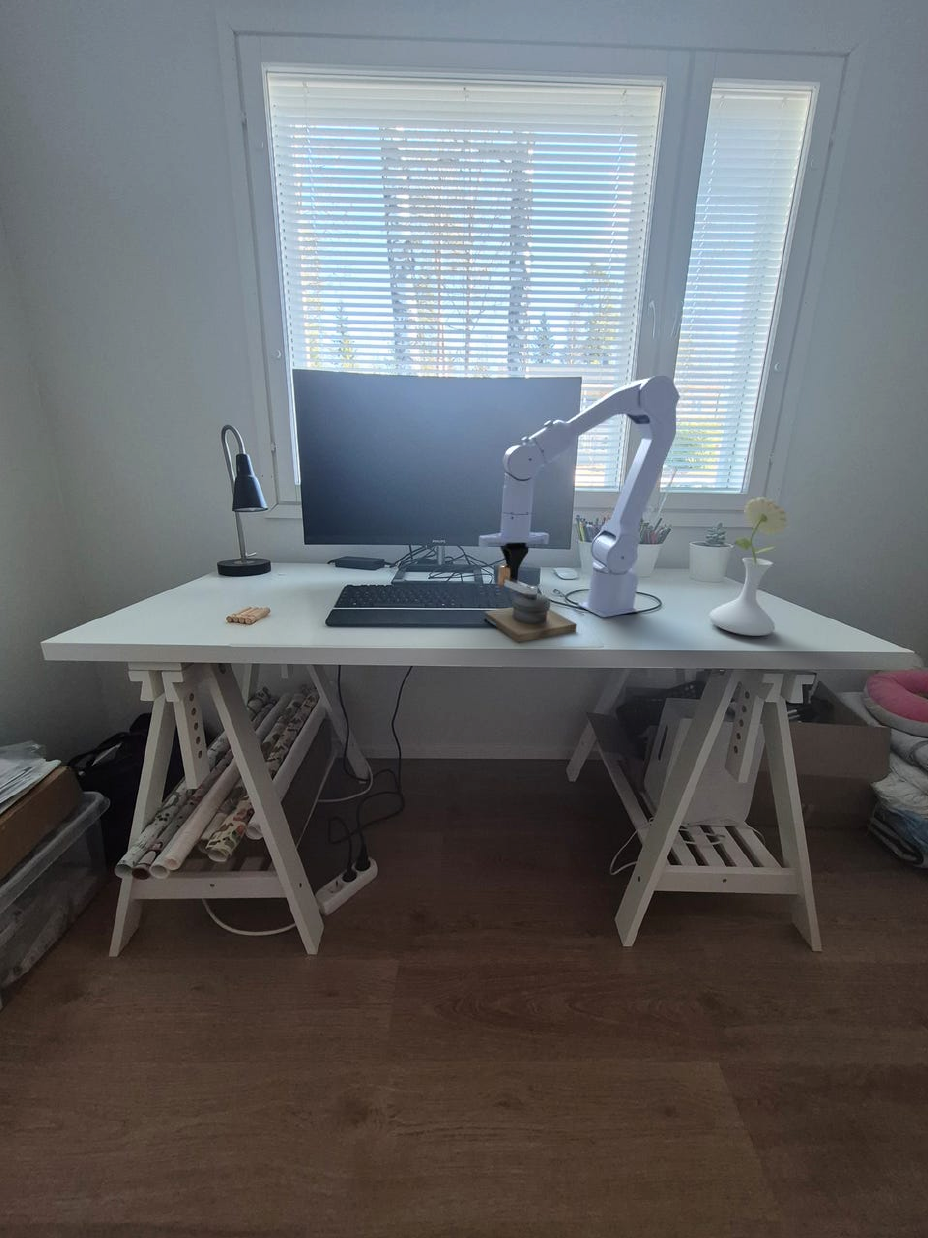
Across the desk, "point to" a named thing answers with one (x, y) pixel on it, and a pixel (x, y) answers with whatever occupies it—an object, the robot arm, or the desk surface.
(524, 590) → the hammer
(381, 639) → the desk surface
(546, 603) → the wooden base with cylinder
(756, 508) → the flower in vase
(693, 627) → the desk surface
